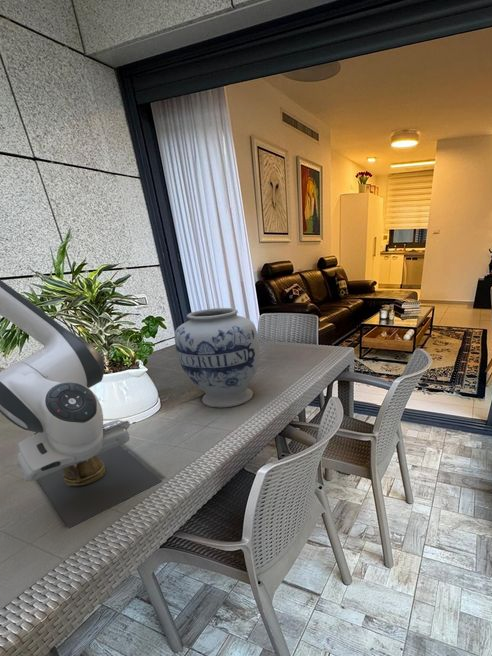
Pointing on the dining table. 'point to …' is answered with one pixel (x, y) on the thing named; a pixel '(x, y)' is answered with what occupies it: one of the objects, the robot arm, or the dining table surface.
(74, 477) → the wooden mug
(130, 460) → the plate
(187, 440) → the dining table surface
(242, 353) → the apothecary jar
